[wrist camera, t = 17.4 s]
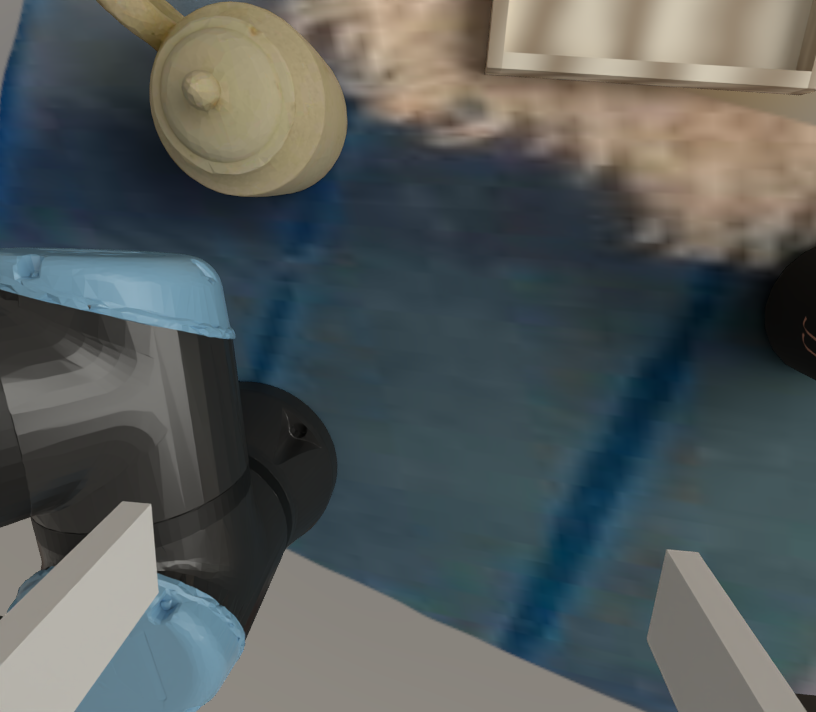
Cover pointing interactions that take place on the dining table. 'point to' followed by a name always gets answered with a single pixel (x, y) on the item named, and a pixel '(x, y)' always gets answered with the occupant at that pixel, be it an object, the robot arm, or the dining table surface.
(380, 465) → the dining table surface
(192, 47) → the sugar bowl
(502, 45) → the tray
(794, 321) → the coffee jar
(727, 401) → the dining table surface
